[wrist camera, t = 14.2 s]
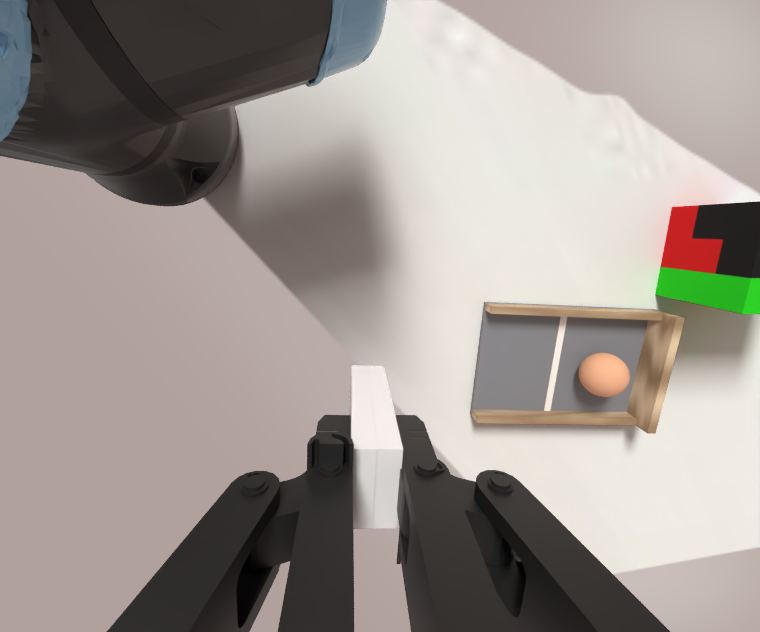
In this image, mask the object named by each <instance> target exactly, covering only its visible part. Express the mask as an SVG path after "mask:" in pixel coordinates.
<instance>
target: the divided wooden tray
mask: <svg viewBox="0 0 760 632" xmlns="http://www.w3.org/2000/svg"><path fill="white" fill-rule="evenodd" d="M485 310H486V311H487V312H489V313H491V314H510V315H535V316H560V317H584V318H609V319H634V320H648V323H647V327H646V331H645V336H644V340H643V344H642V348H641V353H640V357H639V361H638V365H637V370H636V374H635V378H634V382H633V387H632V391H631V395H630V399H629V404H628V408H627V412H595V411H537V410H479V409H472V417H473V418H474V420H475V421H476V423H512V424H583V425H636V426H638V427H639V428H641V429H642V430H643V431H645V432H646V433H656V429H657V425H658V421H659V417H660V414H661V410H662V406H663V402H664V398H665V394H666V390H667V387H668V383H669V379H670V375H671V371H672V367H673V364H674V360H675V356H676V352H677V348H678V344H679V340H680V337H681V333H682V329H683V325H684V321H685V318H684V317H680V316H676V315H673V314H669V313H665V312H662V311H655V310H632V309H609V308H586V307H562V306H539V305H516V304H493V303H486V308H485Z"/></svg>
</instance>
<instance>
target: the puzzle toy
mask: <svg viewBox="0 0 760 632" xmlns="http://www.w3.org/2000/svg"><path fill="white" fill-rule="evenodd" d="M655 295H658V296H663V297H667V298H672V299H676V300H681V301H685V302H690V303H694V304H699V305H703V306H708V307H712V308H717V309H721V310H726V311H730V312H735V313H739V314H760V202H746V203H730V204H714V205H699V206H683V207H672V210H671V216H670V221H669V226H668V231H667V237H666V242H665V247H664V252H663V258H662V263H661V268H660V273H659V279H658V284H657V289H656V294H655Z"/></svg>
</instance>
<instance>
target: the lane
mask: <svg viewBox="0 0 760 632" xmlns="http://www.w3.org/2000/svg"><path fill="white" fill-rule="evenodd" d="M486 303H492V302H484V308H483V316H482V324H481V332H480V339H479V347H478V355H477V363H476V371H475V379H474V387H473V395H472V403H471V411H470V413H471V415H472V409H479V410H537V411H595V412H627V408H628V404H629V399H630V395H631V391H632V387H633V382H634V378H635V374H636V370H637V365H638V361H639V357H640V353H641V348H642V344H643V340H644V336H645V331H646V327H647V323H648V320H634V319H609V318H584V317H560V316H535V315H510V314H491V313H489V312H487V311H486V310H485V308H486ZM493 304H515V303H493ZM516 305H538V304H516ZM539 306H561V305H539ZM562 307H584V306H562ZM586 308H607V307H586ZM609 309H630V308H609ZM632 310H654V309H632ZM655 311H658V310H655ZM596 353H609V354H612V355H615V356H617V357H618V358H620V359H621V360H622V361H623V362H624V363H625V364H626V366H627V367H628V369H629V373H630V380H629V384H628V386H627V387H626V389H625V390H624V391H623V392H621V393H620V394H618V395H615V396H612V397H601V396H597V395H594V394H592V393H591V392H589V391H588V390H587V389H586V388H584V386H583V385H582V383H581V381H580V379H579V367H580V365H581V363H582V362H583V360H584V359H585V358H587V357H588V356H590V355H592V354H596Z"/></svg>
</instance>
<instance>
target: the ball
mask: <svg viewBox="0 0 760 632" xmlns="http://www.w3.org/2000/svg"><path fill="white" fill-rule="evenodd" d="M579 379H580V381H581V383H582V385H583V386H584V388H586V389H587V390H588V391H589V392H591V393H592V394H594V395H597V396H601V397H612V396H615V395H618V394H620V393H621V392H623V391H624V390H625V389H626V387H627V386H628V384H629V380H630V373H629V369H628V367H627V366H626V364H625V363H624V362H623V361H622V360H621V359H620V358H618V357H617V356H615V355H612V354H609V353H596V354H592V355H590V356H588V357H587V358H585V359H584V360H583V362H582V363H581V365H580V367H579Z"/></svg>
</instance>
